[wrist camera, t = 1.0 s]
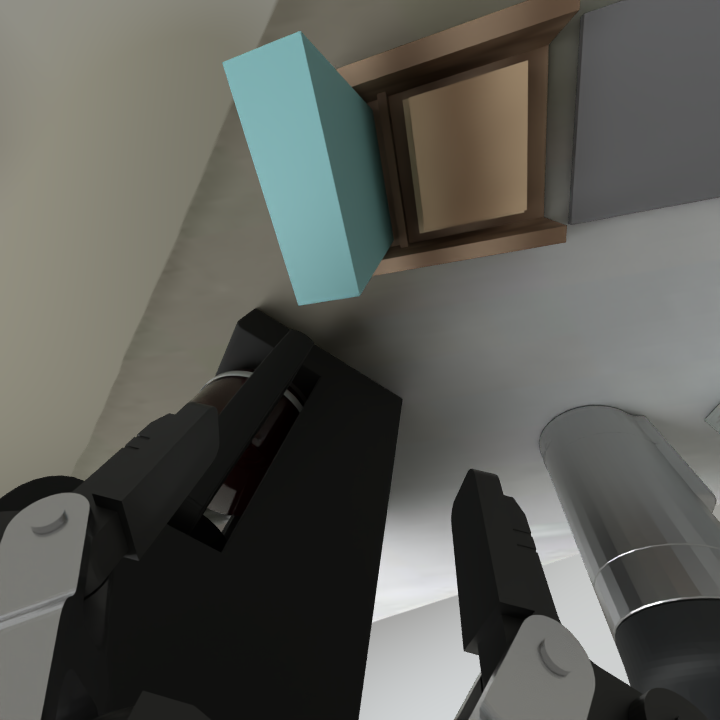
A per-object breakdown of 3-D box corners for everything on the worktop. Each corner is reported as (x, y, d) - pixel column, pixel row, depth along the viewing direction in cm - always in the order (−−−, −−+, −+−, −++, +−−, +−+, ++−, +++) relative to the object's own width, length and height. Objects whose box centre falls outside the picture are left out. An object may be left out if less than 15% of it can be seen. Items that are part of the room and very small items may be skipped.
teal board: (372, 109, 24) (300, 30, 11) (394, 239, 28) (359, 295, 15) (333, 122, 24) (222, 62, 12) (359, 246, 28) (298, 305, 15)
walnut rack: (544, 29, 21) (589, -31, 15) (539, 229, 26) (571, 244, 20) (311, 107, 25) (272, 85, 19) (347, 265, 30) (326, 287, 24)
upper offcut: (515, 75, 19) (528, 60, 17) (516, 206, 22) (526, 210, 20) (411, 107, 21) (408, 97, 18) (425, 224, 24) (424, 230, 21)
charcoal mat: (899, -89, 16) (915, -98, 16) (807, 179, 22) (817, 178, 21) (580, 17, 20) (584, 13, 20) (568, 223, 25) (571, 224, 25)
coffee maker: (263, 271, 32) (-2041, 1559, 2) (427, 374, 34) (388, 1768, 4) (192, 438, 46) (-249, 920, 16) (312, 505, 48) (114, 1040, 18)
